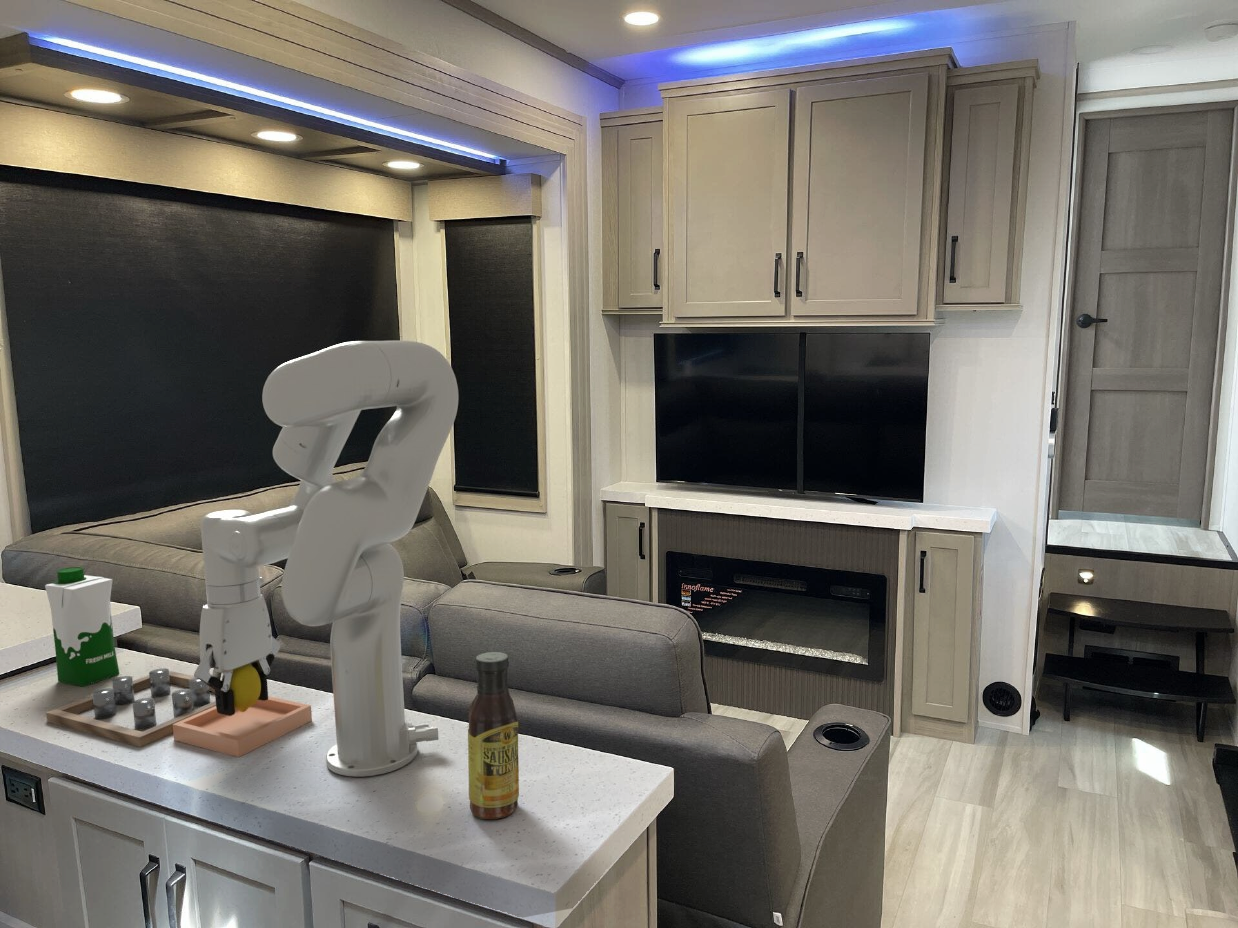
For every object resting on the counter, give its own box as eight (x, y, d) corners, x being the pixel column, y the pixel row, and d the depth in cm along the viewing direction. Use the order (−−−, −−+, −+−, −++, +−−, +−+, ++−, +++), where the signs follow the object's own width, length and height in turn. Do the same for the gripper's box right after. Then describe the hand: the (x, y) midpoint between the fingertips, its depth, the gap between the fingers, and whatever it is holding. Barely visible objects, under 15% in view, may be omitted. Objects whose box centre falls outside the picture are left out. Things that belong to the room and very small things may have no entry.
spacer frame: (254, 696, 152) (253, 688, 152) (140, 746, 134) (139, 737, 134) (164, 677, 163) (163, 669, 163) (47, 721, 144) (46, 712, 144)
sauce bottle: (487, 828, 109) (479, 670, 106) (460, 809, 113) (452, 657, 111) (531, 809, 113) (525, 656, 110) (503, 791, 118) (497, 644, 115)
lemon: (269, 704, 141) (265, 655, 140) (251, 719, 136) (247, 668, 135) (235, 704, 142) (231, 655, 141) (216, 718, 136) (212, 668, 135)
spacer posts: (224, 703, 150) (222, 680, 150) (153, 733, 139) (151, 708, 138) (153, 687, 158) (151, 665, 158) (81, 714, 147) (78, 691, 146)
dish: (312, 720, 142) (310, 705, 142) (238, 756, 130) (237, 740, 129) (249, 706, 148) (248, 691, 148) (174, 739, 136) (172, 724, 136)
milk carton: (95, 666, 170) (85, 563, 167) (128, 673, 166) (117, 567, 163) (49, 682, 162) (37, 574, 159) (82, 689, 158) (70, 578, 155)
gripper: (261, 576, 146) (270, 683, 148) (166, 604, 130) (177, 723, 133) (295, 580, 142) (303, 690, 144) (201, 609, 127) (212, 732, 129)
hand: (243, 705), depth 139 cm, fingers closed on lemon, 5 cm apart
